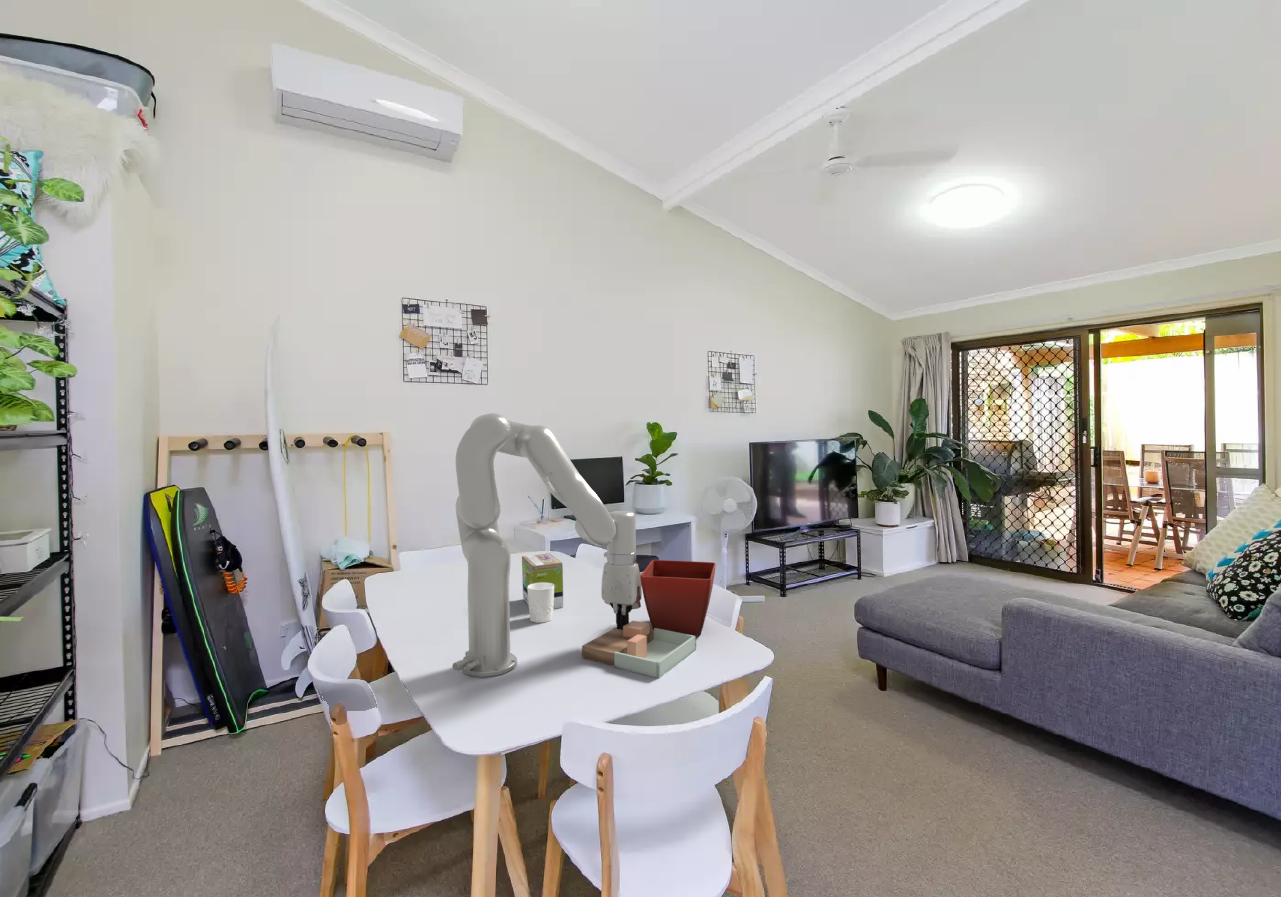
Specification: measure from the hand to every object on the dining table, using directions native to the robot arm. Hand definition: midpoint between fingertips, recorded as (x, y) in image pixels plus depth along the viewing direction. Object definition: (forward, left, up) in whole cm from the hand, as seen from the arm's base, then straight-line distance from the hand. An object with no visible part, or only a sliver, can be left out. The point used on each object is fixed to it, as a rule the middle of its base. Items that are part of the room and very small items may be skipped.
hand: (622, 627), depth 149 cm
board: (-4, -2, -4) cm, 6 cm away
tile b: (0, -4, -1) cm, 4 cm away
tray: (-4, -13, -4) cm, 14 cm away
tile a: (-8, -8, -1) cm, 12 cm away
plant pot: (+18, -8, -4) cm, 20 cm away
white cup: (+4, +31, -4) cm, 32 cm away
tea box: (+16, +41, -4) cm, 45 cm away
